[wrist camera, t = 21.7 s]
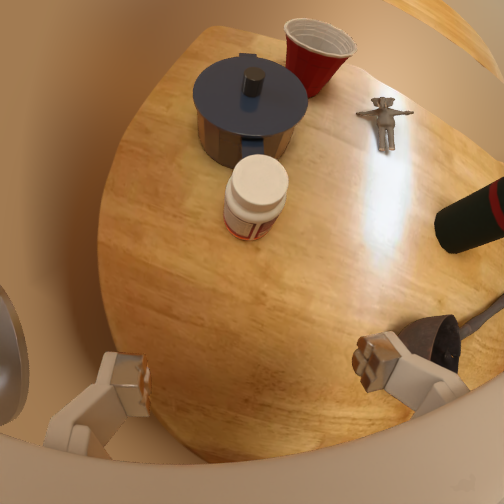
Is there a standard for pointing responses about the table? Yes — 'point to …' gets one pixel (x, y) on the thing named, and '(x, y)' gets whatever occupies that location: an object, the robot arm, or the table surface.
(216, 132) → the pot
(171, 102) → the table surface
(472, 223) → the wine bottle
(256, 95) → the pot lid
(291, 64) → the plastic cup
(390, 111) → the elephant figurine
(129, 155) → the table surface
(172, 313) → the table surface
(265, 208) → the pill bottle
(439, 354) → the ladle
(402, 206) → the table surface
